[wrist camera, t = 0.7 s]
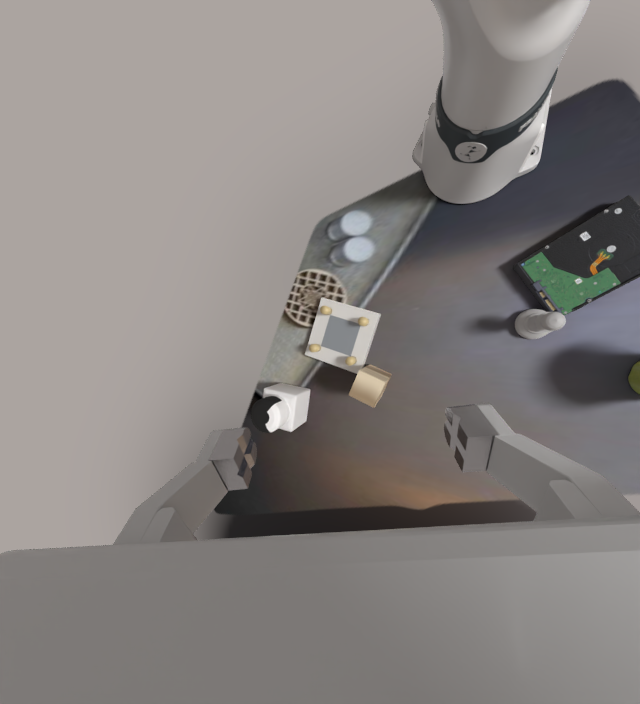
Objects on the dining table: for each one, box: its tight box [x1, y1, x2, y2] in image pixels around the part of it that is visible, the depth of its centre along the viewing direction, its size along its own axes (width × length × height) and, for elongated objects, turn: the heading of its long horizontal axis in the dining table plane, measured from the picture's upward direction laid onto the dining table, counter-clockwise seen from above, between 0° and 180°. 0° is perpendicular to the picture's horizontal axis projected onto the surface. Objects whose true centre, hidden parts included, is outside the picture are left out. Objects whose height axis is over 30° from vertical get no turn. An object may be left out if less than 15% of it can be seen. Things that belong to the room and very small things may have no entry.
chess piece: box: [515, 309, 566, 339], centre depth 37 cm, size 5×5×8 cm
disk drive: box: [513, 196, 640, 315], centre depth 38 cm, size 10×3×15 cm
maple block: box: [349, 365, 392, 408], centre depth 45 cm, size 4×4×10 cm
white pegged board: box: [305, 298, 381, 374], centre depth 50 cm, size 12×12×4 cm
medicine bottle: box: [251, 383, 310, 433], centre depth 51 cm, size 7×7×12 cm
